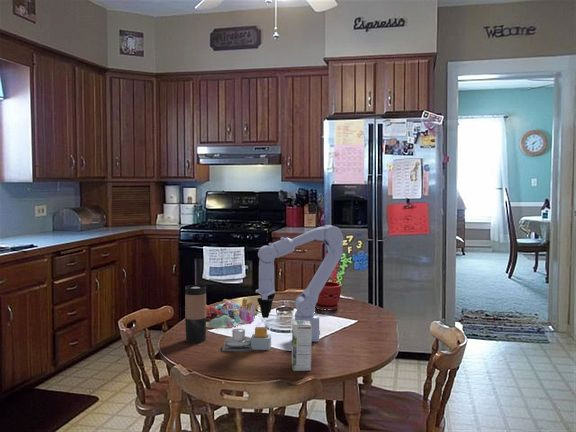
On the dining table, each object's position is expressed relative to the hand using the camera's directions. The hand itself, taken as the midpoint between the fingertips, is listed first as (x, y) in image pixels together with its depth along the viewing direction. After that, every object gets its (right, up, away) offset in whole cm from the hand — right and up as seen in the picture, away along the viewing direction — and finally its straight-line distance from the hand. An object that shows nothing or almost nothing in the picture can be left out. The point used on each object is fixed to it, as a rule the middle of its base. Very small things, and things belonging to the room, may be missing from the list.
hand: (266, 315), depth 194 cm
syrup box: (+12, -11, -29) cm, 34 cm away
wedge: (-2, -10, -8) cm, 13 cm away
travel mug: (-26, -10, 0) cm, 28 cm away
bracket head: (-1, -10, -4) cm, 11 cm away
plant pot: (+26, -7, +51) cm, 58 cm away
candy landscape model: (-18, -8, +29) cm, 35 cm away
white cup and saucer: (-10, -10, -8) cm, 16 cm away
